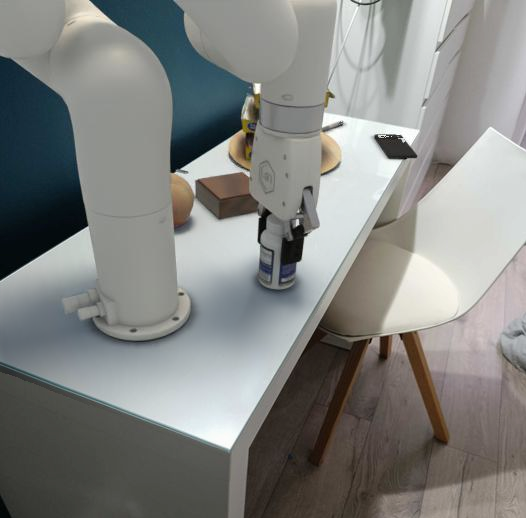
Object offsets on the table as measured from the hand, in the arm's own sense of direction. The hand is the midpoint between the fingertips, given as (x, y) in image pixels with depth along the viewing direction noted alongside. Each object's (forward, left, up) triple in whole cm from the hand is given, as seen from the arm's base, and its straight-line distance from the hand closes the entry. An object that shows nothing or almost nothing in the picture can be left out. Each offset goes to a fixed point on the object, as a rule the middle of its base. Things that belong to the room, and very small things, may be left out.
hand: (279, 250), depth 70 cm
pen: (+50, +55, -4) cm, 74 cm away
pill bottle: (0, 0, -5) cm, 5 cm away
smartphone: (+53, +32, -4) cm, 62 cm away
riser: (+6, +26, -5) cm, 27 cm away
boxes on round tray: (+32, +42, -8) cm, 53 cm away
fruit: (-7, +23, -5) cm, 25 cm away
